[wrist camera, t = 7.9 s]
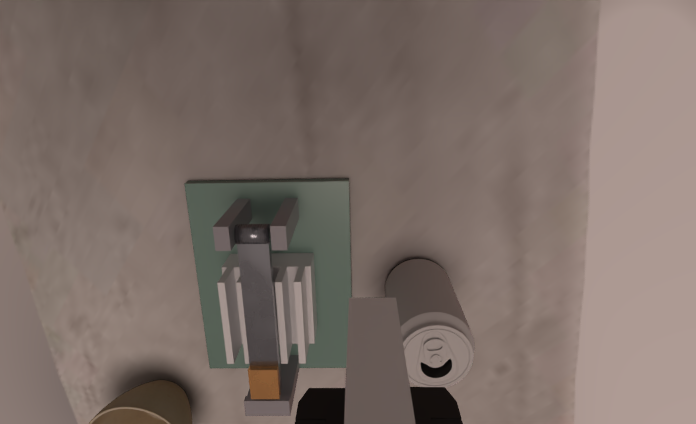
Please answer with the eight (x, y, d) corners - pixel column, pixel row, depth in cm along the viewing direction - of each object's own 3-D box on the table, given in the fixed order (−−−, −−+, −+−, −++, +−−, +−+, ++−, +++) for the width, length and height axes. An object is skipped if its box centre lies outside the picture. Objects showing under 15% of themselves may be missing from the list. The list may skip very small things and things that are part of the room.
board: (188, 181, 43) (148, 209, 35) (349, 178, 42) (346, 206, 34) (212, 362, 49) (184, 421, 41) (352, 361, 49) (351, 421, 40)
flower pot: (198, 355, 49) (172, 403, 42) (218, 430, 52) (197, 485, 45) (108, 364, 49) (68, 413, 43) (133, 437, 52) (100, 494, 46)
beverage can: (389, 316, 47) (399, 399, 35) (380, 260, 45) (387, 328, 33) (451, 308, 46) (482, 389, 35) (445, 250, 44) (475, 316, 33)
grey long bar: (238, 221, 37) (232, 229, 35) (270, 220, 37) (266, 228, 35) (254, 385, 42) (250, 399, 40) (283, 385, 41) (280, 399, 40)
